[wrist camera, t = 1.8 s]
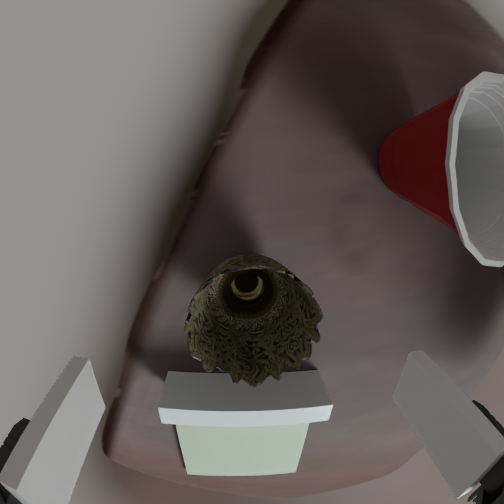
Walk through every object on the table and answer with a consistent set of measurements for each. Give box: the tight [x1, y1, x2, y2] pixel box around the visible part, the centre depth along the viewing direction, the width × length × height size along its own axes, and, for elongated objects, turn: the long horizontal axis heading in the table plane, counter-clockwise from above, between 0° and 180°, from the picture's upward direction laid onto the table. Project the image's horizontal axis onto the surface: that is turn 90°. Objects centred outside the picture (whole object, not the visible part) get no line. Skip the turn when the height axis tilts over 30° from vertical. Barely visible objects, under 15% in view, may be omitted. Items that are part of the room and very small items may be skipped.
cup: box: [184, 254, 323, 387], centre depth 19 cm, size 8×7×8 cm
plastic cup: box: [378, 72, 504, 267], centre depth 15 cm, size 11×11×12 cm
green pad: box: [176, 423, 309, 476], centre depth 27 cm, size 14×14×1 cm
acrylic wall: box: [158, 370, 333, 427], centre depth 23 cm, size 14×2×5 cm, turn 88°
